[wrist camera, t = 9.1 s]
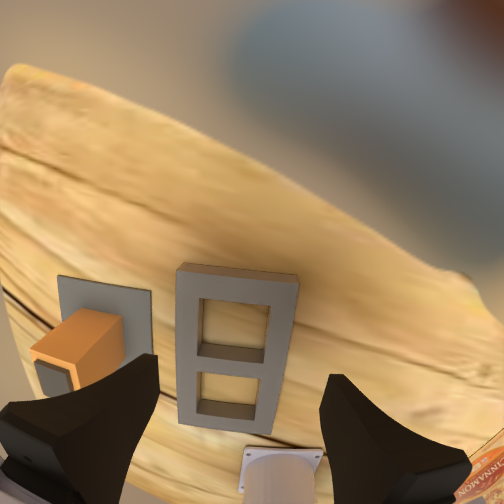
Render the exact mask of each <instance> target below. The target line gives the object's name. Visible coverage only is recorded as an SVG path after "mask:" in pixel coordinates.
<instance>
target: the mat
mask: <svg viewBox="0 0 504 504" xmlns="http://www.w3.org/2000/svg"><path fill="white" fill-rule="evenodd" d="M57 282H58V292H59V300H60V308H61V315H62V322H63V321H65V320H66V319H67V318H69V317H70V316H71V315H72V314H74V313H75V312H76V311H78V310H79V309H80V308H86V309H91V310H95V311H100V312H105V313H110V314H115V315H120V316H122V323H123V335H124V345H125V355H126V358H125V359H124V360H123V362H122V363H121V365H120V366H119V367H118V369H120V368H121V367H123V366H125V365H126V364H128V363H129V362H131V361H132V360H134V359H135V358H137V357H138V356H140V355H142V354H143V353H147V354H152V355H153V340H152V313H151V291H149V290H142V289H136V288H130V287H123V286H117V285H111V284H105V283H100V282H94V281H88V280H83V279H77V278H72V277H67V276H62V275H58V276H57ZM118 369H117V370H118ZM117 370H116V371H117Z"/></svg>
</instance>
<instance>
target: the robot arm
mask: <svg viewBox="0 0 504 504" xmlns="http://www.w3.org/2000/svg"><path fill="white" fill-rule="evenodd" d="M159 394H160V384H159V370H158V356H157V355H152V354H147V353H143V354H142V355H140V356H138V357H137V358H135V359H134V360H132V361H131V362H129V363H128V364H126V365H125V366H123V367H121V368H120V369H118V370H117V371H115V372H113V373H112V374H110V375H108V376H106V377H104V378H102V379H100V380H99V381H97V382H95V383H93V384H90V385H88V386H86V387H83V388H81V389H78V390H76V391H73V392H69V393H66V394H63V395H59V396H55V397H51V398H46V399H40V400H32V401H18V402H9V403H8V404H7V405H6V406H5V407H4V408H3V409H2V410H1V411H0V442H1V444H2V446H3V448H4V449H5V451H6V453H7V454H8V457H7V458H6V460H4V459H3V458H2V457H1V456H0V504H119V500H120V496H121V492H122V488H123V485H124V481H125V478H126V475H127V471H128V468H129V465H130V462H131V459H132V456H133V453H134V451H135V449H136V446H137V444H138V442H139V440H140V438H141V436H142V434H143V432H144V430H145V428H146V426H147V424H148V422H149V420H150V418H151V416H152V414H153V412H154V409H155V407H156V404H157V400H158V397H159ZM319 413H320V424H321V431H322V435H323V439H324V443H325V447H326V451H327V455H328V460H329V464H330V468H331V473H332V481H333V491H334V504H453V503H454V502H455V501H456V498H455V495H454V493H455V492H456V491H457V490H458V489H459V487H460V486H461V485H462V484H463V483H464V482H465V481H466V479H467V478H468V477H469V475H470V473H471V471H472V468H473V467H472V463H471V462H470V460H469V458H468V457H467V455H466V453H465V452H464V450H461V449H457V448H453V447H450V446H446V445H443V444H440V443H437V442H435V441H432V440H429V439H427V438H425V437H423V436H421V435H419V434H417V433H415V432H413V431H411V430H409V429H407V428H406V427H404V426H402V425H401V424H399V423H398V422H396V421H395V420H393V419H392V418H391V417H389V416H388V415H387V414H385V413H384V412H383V411H382V410H380V409H379V408H378V407H377V406H376V405H375V404H373V403H372V402H371V401H370V400H369V399H368V398H367V397H366V396H365V395H364V394H363V393H362V392H361V391H360V390H359V389H358V388H357V387H356V386H355V385H354V384H353V383H352V382H351V381H350V380H349V379H348V378H347V377H346V376H345V375H344V374H329V378H328V381H327V385H326V388H325V392H324V395H323V398H322V402H321V405H320V408H319ZM322 456H323V450H322V449H281V448H262V447H245V448H244V453H243V460H242V467H241V473H240V479H239V486H238V492H240V493H243V504H318V503H317V496H316V489H315V482H314V474H315V471H316V469H317V467H318V465H319V462H320V460H321V458H322ZM464 504H487V503H486V501H485V499H484V498H483V496H480V497H478V498H476V499H473V500H471V501H469V502H466V503H464Z"/></svg>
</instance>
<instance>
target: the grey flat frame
mask: <svg viewBox="0 0 504 504" xmlns="http://www.w3.org/2000/svg"><path fill="white" fill-rule="evenodd" d="M298 290H299V282H298V279H297V276H296V275H291V274H282V273H272V272H262V271H253V270H244V269H235V268H226V267H217V266H208V265H199V264H190V263H183V264H182V265H181V266H180V267H179V268H178V269H177V270H176V304H175V347H176V386H177V407H178V423H179V424H184V425H190V426H196V427H202V428H209V429H216V430H223V431H232V432H241V433H252V434H265V435H271V432H272V428H273V423H274V419H275V414H276V409H277V405H278V400H279V395H280V390H281V385H282V380H283V375H284V370H285V365H286V359H287V354H288V349H289V343H290V337H291V332H292V326H293V320H294V314H295V308H296V302H297V296H298ZM204 299H212V300H220V301H229V302H237V303H246V304H256V305H265V306H269V312H268V319H267V327H266V334H265V341H264V348H263V350H260V349H250V348H241V347H232V346H224V345H216V344H208V343H202V324H203V303H204ZM201 372H206V373H213V374H221V375H229V376H237V377H247V378H257V379H259V383H258V389H257V396H256V402H255V406H254V405H244V404H234V403H226V402H218V401H211V400H204V399H200V396H201Z"/></svg>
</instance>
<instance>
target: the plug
mask: <svg viewBox="0 0 504 504" xmlns="http://www.w3.org/2000/svg"><path fill="white" fill-rule="evenodd" d="M29 349H30V353H31V356H32V360H33V364H34V367H35V371H36V374H37V377H38V380H39V384H40V387H41V390H42V393H43V395H46V396H48V397H55V396H59V395H63V394H66V393H69V392H73V391H76V390H78V389H81V388H83V387H86V386H88V385H90V384H93V383H95V382H97V381H99V380H100V379H102V378H104V377H106V376H108V375H110V374H112V373H113V372H115V371H116V370H117V369H118V367H119V366H120V365H121V363H122V362H123V360H124V359H125V358H126V355H125V345H124V335H123V323H122V316H120V315H115V314H110V313H105V312H100V311H95V310H91V309H86V308H80V309H79V310H78V311H76V312H75V313H74V314H72V315H71V316H70V317H69V318H67V319H66V320H65V321H63V322H62V323H61V324H60V325H58V326H57V327H56V328H54V329H53V330H52V331H51V332H49V333H48V334H47V335H46V336H44V337H43V338H42V339H41V340H39V341H38V342H37V343H36V344H34V345H33V346H32V347H31V348H29Z"/></svg>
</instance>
